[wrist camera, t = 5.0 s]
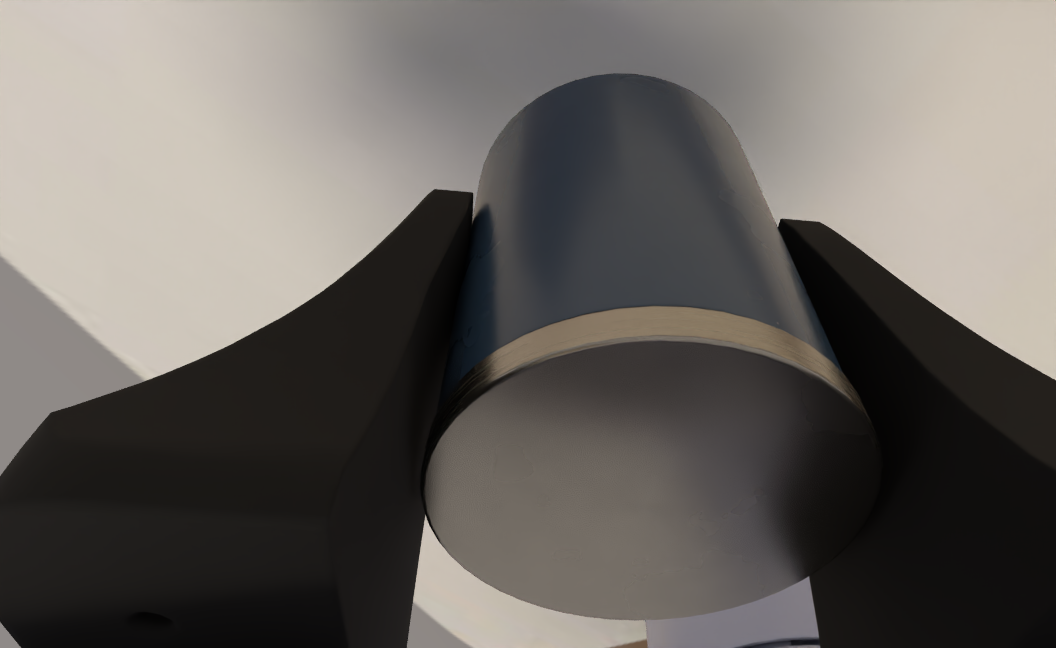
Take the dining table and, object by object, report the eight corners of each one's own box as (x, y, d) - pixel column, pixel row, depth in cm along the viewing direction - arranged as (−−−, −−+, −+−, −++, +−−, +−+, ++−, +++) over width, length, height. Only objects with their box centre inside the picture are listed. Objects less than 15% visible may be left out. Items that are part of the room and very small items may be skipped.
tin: (713, 321, 14) (796, 634, 9) (471, 301, 14) (424, 607, 9) (788, 83, 11) (976, 361, 6) (480, 56, 11) (412, 315, 6)
